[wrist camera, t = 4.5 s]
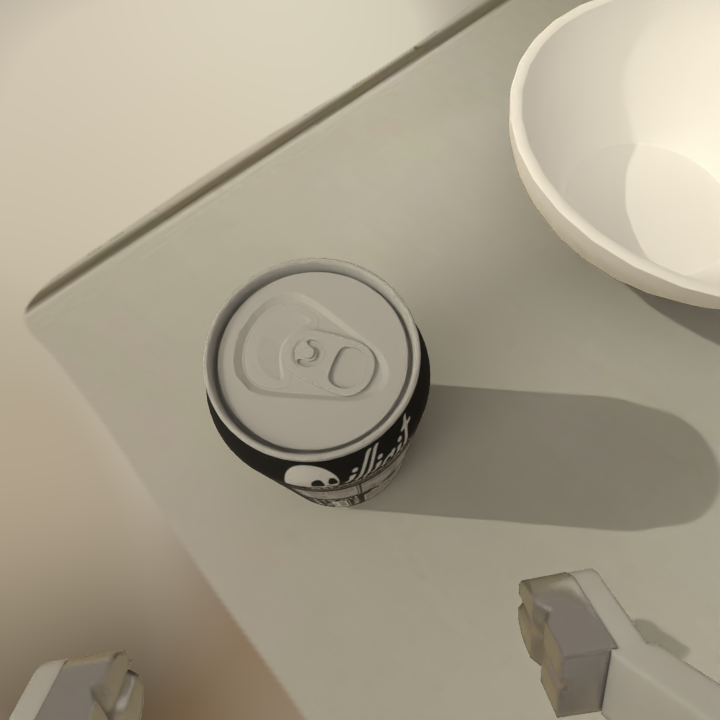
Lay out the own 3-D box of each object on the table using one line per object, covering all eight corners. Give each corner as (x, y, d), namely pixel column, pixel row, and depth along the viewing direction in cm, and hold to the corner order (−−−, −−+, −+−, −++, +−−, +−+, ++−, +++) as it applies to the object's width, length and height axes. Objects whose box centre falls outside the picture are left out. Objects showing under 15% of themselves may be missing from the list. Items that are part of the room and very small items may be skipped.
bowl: (428, 145, 30) (443, 39, 24) (684, 66, 32) (763, -51, 26) (581, 418, 23) (661, 373, 17) (894, 295, 25) (1071, 214, 19)
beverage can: (308, 361, 25) (255, 216, 14) (423, 404, 24) (469, 287, 12) (253, 476, 23) (137, 418, 11) (377, 530, 22) (383, 524, 10)
